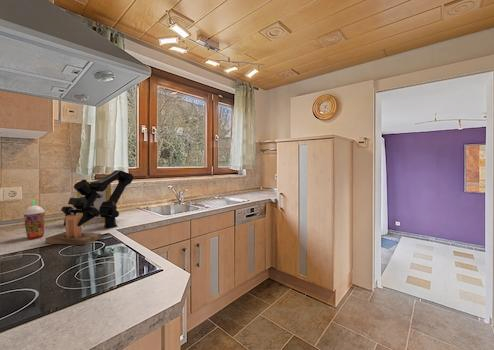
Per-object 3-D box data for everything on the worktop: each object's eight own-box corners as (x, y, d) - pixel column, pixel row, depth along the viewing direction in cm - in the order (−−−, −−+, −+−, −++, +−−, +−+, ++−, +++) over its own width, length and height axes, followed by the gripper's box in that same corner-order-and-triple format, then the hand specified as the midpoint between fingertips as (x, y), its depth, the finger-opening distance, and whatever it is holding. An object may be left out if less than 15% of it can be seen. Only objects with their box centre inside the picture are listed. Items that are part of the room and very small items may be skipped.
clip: (71, 239, 117) (70, 214, 116) (82, 239, 116) (80, 215, 115) (66, 241, 114) (65, 216, 113) (76, 241, 113) (75, 216, 112)
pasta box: (78, 226, 141) (76, 181, 139) (79, 222, 149) (76, 180, 148) (112, 221, 151) (110, 180, 150) (110, 218, 160) (109, 179, 158)
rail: (64, 236, 121) (64, 231, 121) (101, 238, 118) (101, 233, 118) (45, 243, 112) (45, 238, 111) (85, 245, 109) (85, 240, 108)
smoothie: (22, 241, 114) (20, 202, 113) (27, 236, 121) (25, 200, 120) (44, 238, 119) (42, 200, 118) (47, 234, 126) (45, 198, 125)
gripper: (63, 191, 119) (42, 216, 108) (94, 191, 116) (76, 218, 106) (77, 203, 127) (59, 228, 117) (106, 203, 124) (91, 229, 114)
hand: (71, 225), depth 113 cm, fingers open, 8 cm apart
